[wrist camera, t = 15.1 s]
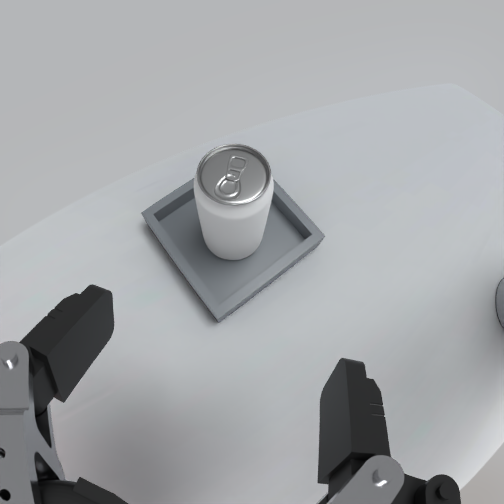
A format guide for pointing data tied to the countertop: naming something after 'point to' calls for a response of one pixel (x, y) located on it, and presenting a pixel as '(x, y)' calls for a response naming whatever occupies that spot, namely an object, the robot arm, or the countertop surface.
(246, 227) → the can
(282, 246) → the tray
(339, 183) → the countertop surface
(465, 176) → the countertop surface
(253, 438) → the countertop surface
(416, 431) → the countertop surface
